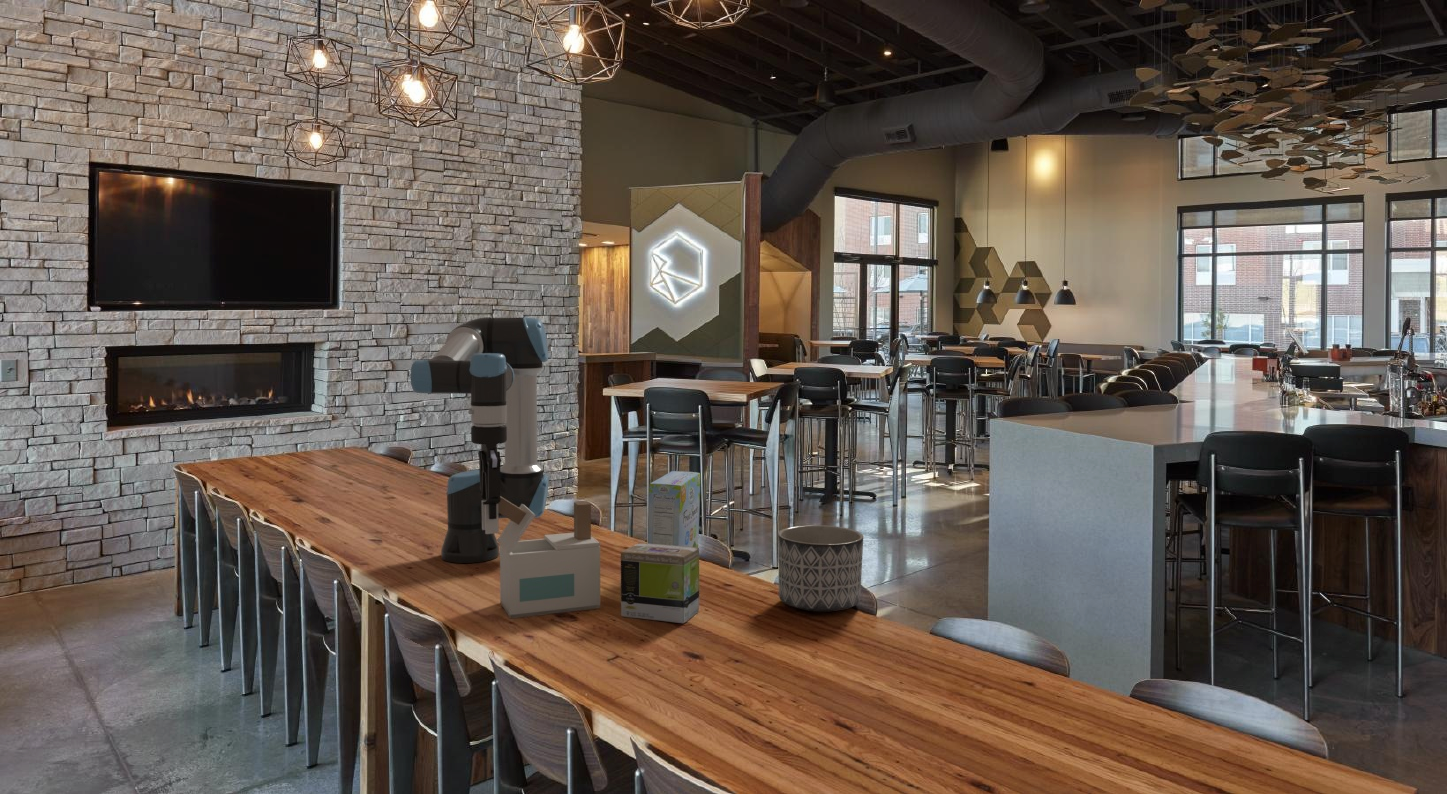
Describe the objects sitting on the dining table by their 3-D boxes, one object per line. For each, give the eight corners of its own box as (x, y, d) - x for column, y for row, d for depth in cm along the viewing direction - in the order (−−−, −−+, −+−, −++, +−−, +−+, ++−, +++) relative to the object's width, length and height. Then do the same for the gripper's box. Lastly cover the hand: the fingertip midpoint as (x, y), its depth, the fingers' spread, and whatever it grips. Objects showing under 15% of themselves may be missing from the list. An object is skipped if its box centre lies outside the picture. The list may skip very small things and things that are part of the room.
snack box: (680, 591, 224) (681, 485, 222) (645, 589, 225) (645, 483, 223) (700, 568, 245) (701, 470, 243) (668, 566, 247) (669, 469, 244)
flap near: (499, 541, 212) (467, 522, 208) (524, 505, 213) (492, 485, 210) (509, 553, 201) (475, 533, 198) (535, 515, 203) (501, 494, 199)
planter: (766, 612, 208) (767, 539, 207) (790, 589, 226) (791, 522, 225) (851, 622, 202) (853, 547, 200) (869, 598, 220) (870, 529, 218)
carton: (500, 602, 213) (499, 503, 211) (586, 593, 221) (586, 497, 219) (510, 618, 202) (509, 513, 200) (600, 608, 210) (600, 507, 208)
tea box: (700, 611, 208) (700, 546, 207) (683, 625, 199) (684, 557, 198) (638, 604, 213) (638, 540, 212) (619, 617, 204) (619, 550, 203)
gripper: (465, 421, 209) (466, 524, 211) (477, 429, 194) (479, 540, 196) (499, 420, 212) (500, 522, 214) (514, 428, 197) (515, 537, 199)
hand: (490, 530), depth 205 cm, fingers closed on flap near, 4 cm apart
